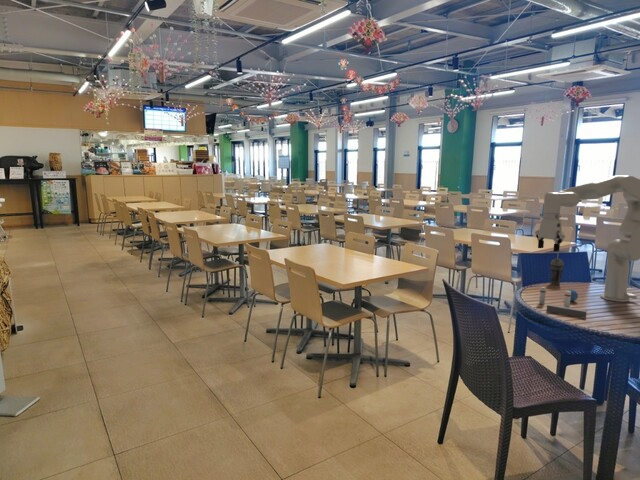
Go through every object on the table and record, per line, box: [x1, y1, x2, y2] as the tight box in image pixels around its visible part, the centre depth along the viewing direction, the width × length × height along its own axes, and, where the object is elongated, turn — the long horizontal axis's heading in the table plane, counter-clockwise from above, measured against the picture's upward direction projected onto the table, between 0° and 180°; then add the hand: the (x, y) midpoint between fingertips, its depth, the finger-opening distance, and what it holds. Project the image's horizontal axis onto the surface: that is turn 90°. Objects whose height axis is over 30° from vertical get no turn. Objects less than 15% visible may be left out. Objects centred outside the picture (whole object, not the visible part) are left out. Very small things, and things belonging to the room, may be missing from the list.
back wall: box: [546, 304, 588, 319], centre depth 201 cm, size 16×2×3 cm, turn 53°
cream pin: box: [563, 290, 571, 308], centre depth 210 cm, size 2×2×8 cm
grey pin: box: [538, 286, 547, 306], centre depth 216 cm, size 2×2×8 cm
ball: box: [566, 289, 579, 302], centre depth 222 cm, size 6×6×6 cm
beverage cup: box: [549, 250, 565, 286], centre depth 255 cm, size 7×7×20 cm
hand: (548, 249), depth 222 cm, fingers open, 9 cm apart
